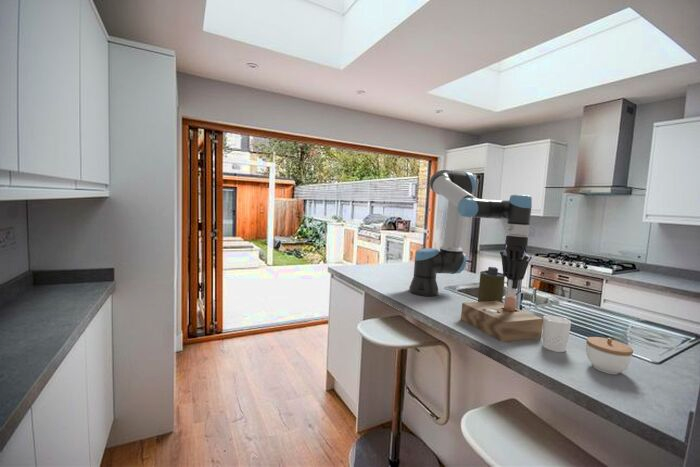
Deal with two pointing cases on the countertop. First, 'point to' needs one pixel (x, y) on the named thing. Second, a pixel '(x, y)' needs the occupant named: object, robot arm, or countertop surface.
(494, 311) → the white glossy ovoid
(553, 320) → the white cup
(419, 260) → the robot arm
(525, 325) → the walnut block
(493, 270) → the canister
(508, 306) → the terracotta plug
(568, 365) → the countertop surface
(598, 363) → the lidded jar
